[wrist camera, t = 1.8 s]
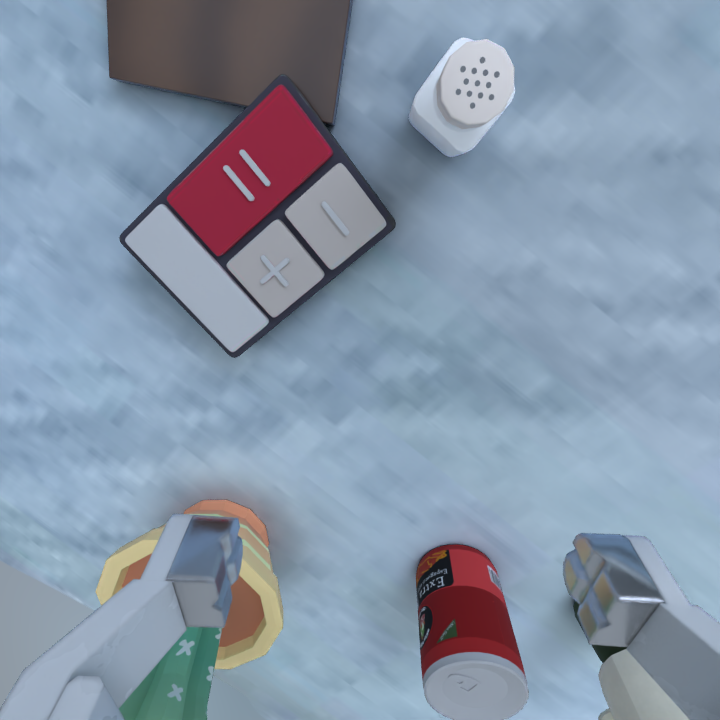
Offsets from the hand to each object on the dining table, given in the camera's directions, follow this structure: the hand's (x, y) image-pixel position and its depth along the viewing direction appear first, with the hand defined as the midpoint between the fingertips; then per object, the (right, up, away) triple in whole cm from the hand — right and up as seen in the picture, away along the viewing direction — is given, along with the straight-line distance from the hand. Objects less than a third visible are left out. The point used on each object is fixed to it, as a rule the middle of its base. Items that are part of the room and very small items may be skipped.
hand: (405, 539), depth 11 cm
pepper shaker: (+4, +20, +17) cm, 27 cm away
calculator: (-8, +14, +21) cm, 26 cm away
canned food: (+8, -16, +32) cm, 37 cm away
